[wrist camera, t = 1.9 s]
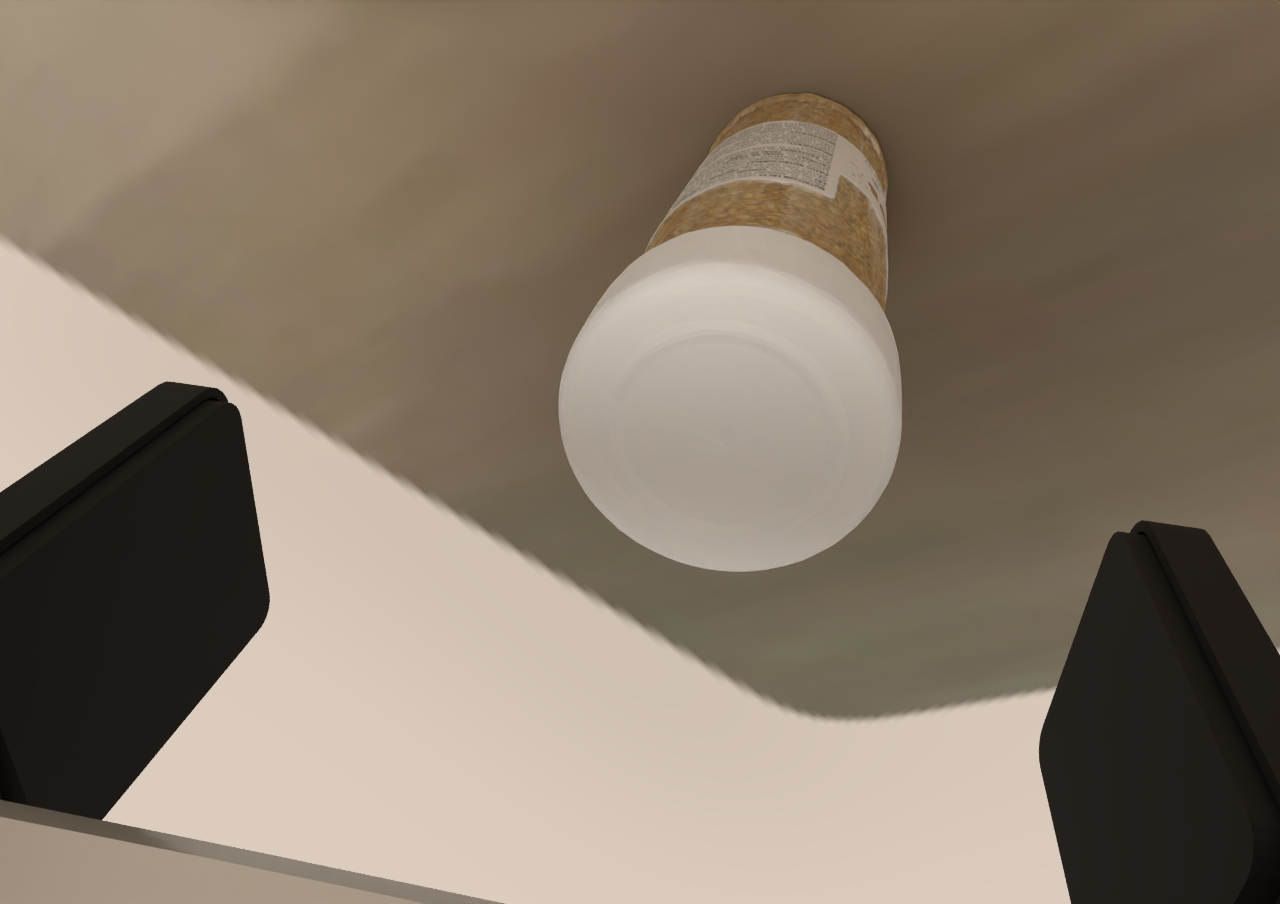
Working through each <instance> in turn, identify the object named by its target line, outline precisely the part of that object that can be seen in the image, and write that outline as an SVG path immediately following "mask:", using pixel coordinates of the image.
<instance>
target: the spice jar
mask: <svg viewBox="0 0 1280 904" xmlns="http://www.w3.org/2000/svg"><path fill="white" fill-rule="evenodd" d="M887 191H888V181H887V170H886V166H885V161H884V158H883V154H882V151H881V148H880V146H879V143H878V141H877V139H876V138H875V136H874V135H873V133H872V132H871V131H870V130H869V128H868V127H867V126H866V125H865V123H864V122H863V121H862V120H861V119H860V118H859V117H858V116H856V115H855V114H853V113H852V112H851V111H850V110H849V109H847V108H846V107H844V106H842V105H840V104H839V103H836V102H834V101H832V100H830V99H826V98H823V97H821V96H818V95H815V94H812V93H800V94H780V95H776V96H772V97H768V98H764V99H762V100H760V101H758V102H757V103H755V104H753V105H750V106H748V107H746V108H745V109H743V110H742V111H740V112H739V113H738V114H737V115H736V116H735V117H734V119H733V120H732V121H730V122H729V123H728V124H727V125H726V126H725V127H724V128H723V130H722V131H721V132H720V134H719V135H718V137H717V138H716V140H715V142H714V143H713V145H712V147H711V148H710V151H709V153H708V156H707V157H706V159H705V160H704V161H703V162H702V164H701V165H700V166H699V168H698V169H697V171H696V172H695V174H694V175H693V177H692V178H691V180H690V181H689V182H688V184H687V185H686V187H685V188H684V189H683V191H682V192H681V194H680V195H679V197H678V199H677V200H676V201H675V203H674V204H673V206H672V207H671V209H670V210H669V212H668V213H667V215H666V216H665V218H664V219H663V221H662V222H661V224H660V225H659V227H658V228H657V230H656V232H655V233H654V235H653V236H652V238H651V239H650V242H649V244H648V246H647V248H646V250H645V253H644V254H643V255H642V256H640V257H639V258H638V259H636V260H635V261H634V262H633V263H631V264H630V265H629V266H628V267H627V268H626V269H625V270H624V271H623V272H622V273H621V274H620V275H619V276H618V277H617V279H616V280H615V281H614V282H613V283H612V284H611V285H610V286H609V288H608V289H607V290H606V292H605V293H604V295H603V296H602V297H601V299H600V300H599V302H598V303H597V304H596V306H595V308H594V309H593V311H592V312H591V314H590V315H589V317H588V319H587V320H586V322H585V324H584V326H583V327H582V329H581V331H580V332H579V334H578V336H577V338H576V340H575V342H574V344H573V346H572V348H571V350H570V353H569V355H568V358H567V361H566V364H565V367H564V370H563V373H562V377H561V382H560V389H559V400H558V404H559V422H560V430H561V437H562V441H563V445H564V449H565V452H566V455H567V458H568V461H569V463H570V465H571V468H572V470H573V472H574V474H575V476H576V478H577V480H578V481H579V483H580V485H581V486H582V488H583V490H584V492H585V493H586V494H587V496H588V497H589V498H590V500H591V501H592V502H593V503H594V505H595V506H596V507H597V508H598V509H599V510H600V511H601V512H602V514H603V515H604V516H605V517H606V518H607V519H608V520H609V521H611V522H612V523H613V524H614V525H615V526H616V527H617V528H618V529H619V530H621V531H622V532H623V533H625V534H626V535H627V536H629V537H630V538H632V539H633V540H634V541H636V542H637V543H639V544H641V545H643V546H645V547H647V548H648V549H650V550H652V551H654V552H656V553H658V554H661V555H663V556H665V557H667V558H670V559H672V560H675V561H678V562H681V563H684V564H687V565H691V566H695V567H700V568H705V569H711V570H718V571H732V572H742V571H758V570H767V569H772V568H777V567H782V566H786V565H790V564H793V563H796V562H799V561H802V560H805V559H807V558H809V557H811V556H813V555H815V554H817V553H819V552H821V551H823V550H825V549H827V548H829V547H831V546H832V545H834V544H835V543H837V542H838V541H839V540H841V539H842V538H843V537H845V536H846V535H847V534H848V533H849V532H851V531H852V530H853V529H854V528H855V527H856V526H857V525H858V524H859V523H860V522H861V521H862V520H863V519H864V518H865V517H866V516H867V515H868V513H869V512H870V511H871V510H872V509H873V507H874V506H875V504H876V503H877V501H878V500H879V498H880V496H881V495H882V493H883V491H884V489H885V488H886V486H887V484H888V483H889V480H890V478H891V475H892V473H893V470H894V467H895V463H896V460H897V456H898V451H899V447H900V442H901V430H902V390H901V373H900V364H899V356H898V351H897V347H896V343H895V339H894V336H893V333H892V330H891V327H890V324H889V322H888V320H887V318H886V316H885V314H886V311H885V305H886V298H887V290H888V245H887V210H886V200H887Z"/></svg>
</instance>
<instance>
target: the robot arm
mask: <svg viewBox="0 0 1280 904" xmlns="http://www.w3.org/2000/svg"><path fill="white" fill-rule="evenodd" d="M269 602H270V596H269V588H268V582H267V576H266V569H265V564H264V557H263V551H262V545H261V538H260V532H259V526H258V520H257V513H256V507H255V501H254V495H253V489H252V482H251V476H250V470H249V463H248V457H247V451H246V445H245V438H244V432H243V426H242V420H241V416H240V412H239V410H238V408H237V407H236V406H235V405H234V404H232V403H228V400H227V398H226V396H225V395H224V393H223V392H221V391H220V390H219V389H217V388H211V387H204V386H197V385H190V384H183V383H176V382H164V383H162V384H160V385H158V386H156V387H155V388H153V389H152V390H150V391H149V392H148V393H146V394H144V395H143V396H141V397H140V398H139V399H137V400H136V401H134V402H133V403H131V404H130V405H128V406H127V407H125V408H124V409H122V410H121V411H119V412H118V413H117V414H115V415H114V416H112V417H111V418H109V419H108V420H106V421H105V422H103V423H102V424H101V425H99V426H97V427H96V428H94V429H93V430H91V431H90V432H88V433H87V434H86V435H84V436H83V437H81V438H80V439H78V440H77V441H75V442H74V443H72V444H71V445H69V446H68V447H66V448H65V449H64V450H62V451H61V452H59V453H58V454H56V455H55V456H53V457H52V458H50V459H49V460H47V461H46V462H44V463H43V464H41V465H40V466H39V467H37V468H36V469H34V470H33V471H31V472H30V473H28V474H27V475H25V476H24V477H22V478H21V479H19V480H18V481H16V482H15V483H13V484H12V485H11V486H9V487H8V488H6V489H5V490H3V491H2V492H0V904H503V903H499V902H494V901H489V900H484V899H480V898H475V897H470V896H465V895H461V894H456V893H451V892H446V891H442V890H437V889H432V888H427V887H422V886H418V885H412V884H408V883H403V882H398V881H394V880H389V879H384V878H379V877H374V876H370V875H365V874H360V873H355V872H350V871H345V870H341V869H336V868H331V867H326V866H322V865H317V864H312V863H307V862H302V861H298V860H293V859H288V858H283V857H279V856H273V855H268V854H264V853H259V852H254V851H249V850H244V849H239V848H235V847H230V846H225V845H220V844H215V843H210V842H205V841H199V840H195V839H190V838H185V837H181V836H176V835H171V834H166V833H161V832H156V831H151V830H146V829H141V828H136V827H131V826H126V825H121V824H117V823H111V822H107V821H102V819H103V818H104V817H105V816H106V815H107V813H108V812H109V811H110V810H111V808H112V807H113V806H114V805H115V804H116V802H117V801H118V800H119V799H120V798H121V796H122V795H123V794H124V793H125V792H126V790H127V789H128V788H129V786H130V785H131V784H132V783H133V782H134V781H135V779H136V778H137V777H138V776H139V775H140V773H141V772H142V771H143V770H144V768H145V767H146V766H147V765H148V764H149V762H150V761H151V760H152V759H153V758H154V756H155V755H156V754H157V753H158V751H159V750H160V749H161V748H162V747H163V745H164V744H165V743H166V742H167V741H168V739H169V738H170V737H171V736H172V735H173V733H174V732H175V731H176V730H177V728H178V727H179V726H180V725H181V724H182V722H183V721H184V720H185V719H186V717H187V716H188V715H189V714H190V713H191V712H192V710H193V709H194V708H195V707H196V705H197V704H198V703H199V702H200V700H201V699H202V698H203V697H204V696H205V695H206V693H207V692H208V691H209V690H210V689H211V687H212V686H213V685H214V684H215V682H216V681H217V680H218V679H219V678H220V676H221V675H222V674H223V673H224V671H225V670H226V669H227V668H228V667H229V666H230V664H231V663H232V662H233V660H234V659H235V658H236V657H237V656H238V654H239V653H240V652H241V651H242V650H243V649H244V647H245V646H246V645H247V644H248V642H249V641H250V640H251V639H252V638H253V636H254V635H255V634H256V633H257V632H258V630H259V629H260V628H261V626H262V625H263V623H264V621H265V618H266V616H267V613H268V609H269ZM1039 761H1040V768H1041V772H1042V776H1043V781H1044V785H1045V790H1046V794H1047V798H1048V803H1049V807H1050V812H1051V816H1052V821H1053V825H1054V830H1055V833H1056V838H1057V842H1058V847H1059V852H1060V856H1061V860H1062V865H1063V869H1064V874H1065V878H1066V883H1067V887H1068V891H1069V896H1070V900H1071V904H1280V655H1279V653H1278V651H1277V650H1276V648H1275V646H1274V644H1273V643H1272V641H1271V639H1270V638H1269V636H1268V634H1267V632H1266V631H1265V629H1264V627H1263V626H1262V624H1261V622H1260V621H1259V619H1258V617H1257V615H1256V614H1255V612H1254V610H1253V609H1252V607H1251V605H1250V603H1249V602H1248V600H1247V598H1246V597H1245V595H1244V593H1243V591H1242V590H1241V588H1240V586H1239V585H1238V583H1237V581H1236V579H1235V578H1234V576H1233V574H1232V573H1231V571H1230V569H1229V567H1228V566H1227V564H1226V562H1225V561H1224V559H1223V557H1222V555H1221V554H1220V552H1219V550H1218V549H1217V547H1216V545H1215V544H1214V542H1213V540H1212V538H1211V537H1210V535H1209V534H1208V533H1207V532H1206V531H1205V530H1203V529H1199V528H1192V527H1185V526H1178V525H1171V524H1164V523H1157V522H1150V521H1143V520H1142V521H1140V522H1138V523H1136V525H1135V526H1134V527H1133V528H1132V530H1131V532H1130V533H1125V532H1116V533H1114V535H1113V536H1112V537H1111V539H1110V541H1109V543H1108V545H1107V548H1106V551H1105V554H1104V556H1103V559H1102V562H1101V565H1100V568H1099V570H1098V573H1097V576H1096V579H1095V582H1094V584H1093V587H1092V590H1091V593H1090V596H1089V598H1088V601H1087V604H1086V607H1085V610H1084V612H1083V615H1082V618H1081V621H1080V624H1079V626H1078V629H1077V632H1076V635H1075V638H1074V640H1073V643H1072V646H1071V649H1070V652H1069V654H1068V657H1067V660H1066V663H1065V666H1064V668H1063V671H1062V674H1061V677H1060V680H1059V682H1058V685H1057V688H1056V691H1055V694H1054V696H1053V699H1052V702H1051V705H1050V708H1049V711H1048V713H1047V716H1046V719H1045V722H1044V724H1043V728H1042V731H1041V736H1040V744H1039Z"/></svg>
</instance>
